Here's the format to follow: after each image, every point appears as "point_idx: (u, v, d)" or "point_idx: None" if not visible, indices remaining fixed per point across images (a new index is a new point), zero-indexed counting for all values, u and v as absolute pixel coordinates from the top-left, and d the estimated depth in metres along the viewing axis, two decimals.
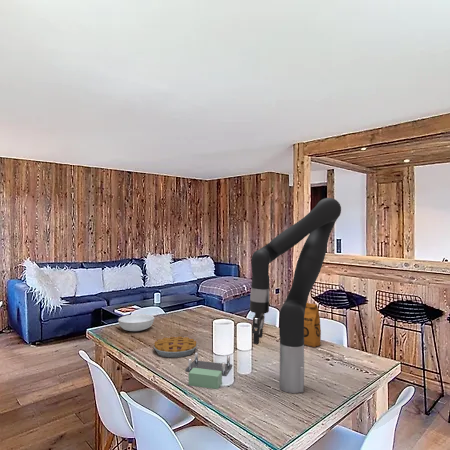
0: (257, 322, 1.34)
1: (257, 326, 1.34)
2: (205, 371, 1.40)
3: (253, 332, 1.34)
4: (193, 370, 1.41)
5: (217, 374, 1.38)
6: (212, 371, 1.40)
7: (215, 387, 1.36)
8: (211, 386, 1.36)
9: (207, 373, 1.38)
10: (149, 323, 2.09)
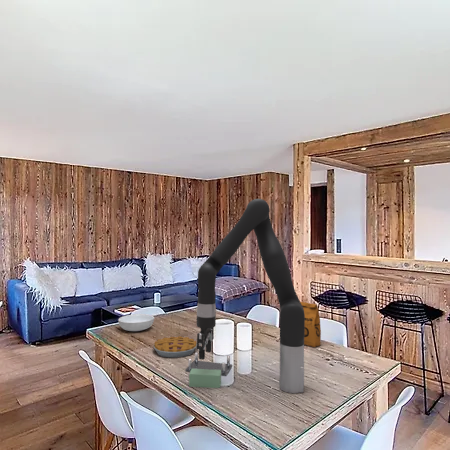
0: (201, 338, 1.33)
1: (201, 342, 1.33)
2: (205, 371, 1.40)
3: (197, 348, 1.34)
4: (192, 371, 1.40)
5: (218, 373, 1.39)
6: (212, 371, 1.41)
7: (217, 386, 1.37)
8: (212, 385, 1.37)
9: (208, 373, 1.38)
10: (149, 323, 2.09)
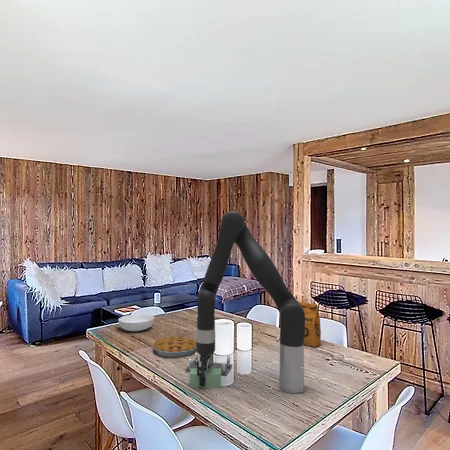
0: (201, 366, 1.33)
1: (201, 370, 1.34)
2: None
3: (198, 375, 1.34)
4: (192, 371, 1.40)
5: (218, 372, 1.39)
6: (212, 370, 1.41)
7: (218, 385, 1.37)
8: (213, 384, 1.37)
9: (208, 372, 1.39)
10: (149, 323, 2.09)
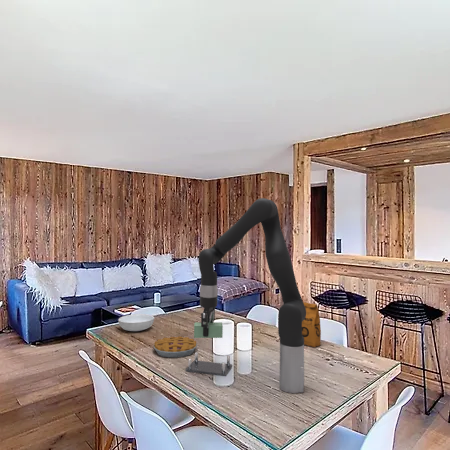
0: (205, 317, 1.46)
1: (205, 320, 1.46)
2: None
3: (202, 326, 1.47)
4: (196, 324, 1.52)
5: (220, 324, 1.52)
6: (214, 323, 1.54)
7: (220, 336, 1.50)
8: (216, 335, 1.50)
9: (211, 325, 1.51)
10: (149, 323, 2.09)
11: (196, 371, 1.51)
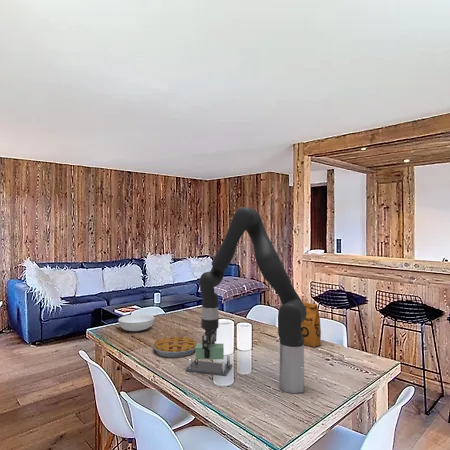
0: (206, 339, 1.49)
1: (206, 343, 1.49)
2: None
3: (203, 348, 1.49)
4: (198, 345, 1.55)
5: (221, 346, 1.55)
6: (215, 344, 1.57)
7: (221, 357, 1.53)
8: (217, 357, 1.53)
9: (212, 346, 1.54)
10: (149, 323, 2.09)
11: (196, 371, 1.51)
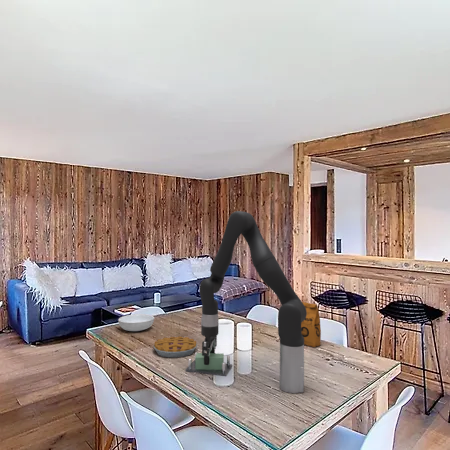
0: (206, 345, 1.49)
1: (206, 349, 1.48)
2: (209, 355, 1.56)
3: (203, 354, 1.49)
4: (198, 355, 1.55)
5: (221, 356, 1.54)
6: (215, 354, 1.56)
7: (221, 367, 1.52)
8: (216, 367, 1.52)
9: (212, 356, 1.54)
10: (149, 323, 2.09)
11: (196, 371, 1.51)
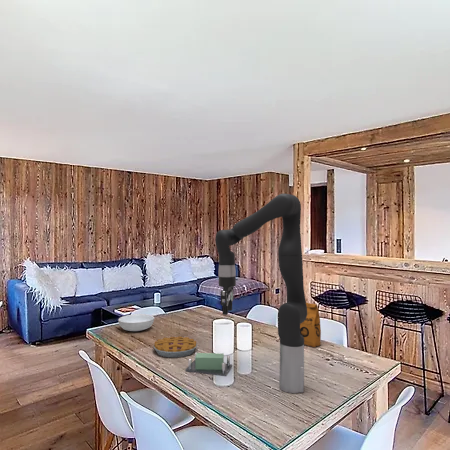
0: (224, 294, 1.49)
1: (225, 298, 1.49)
2: (209, 355, 1.56)
3: (221, 303, 1.49)
4: (198, 355, 1.55)
5: (221, 356, 1.54)
6: (215, 354, 1.56)
7: (221, 367, 1.52)
8: (216, 367, 1.52)
9: (212, 356, 1.54)
10: (149, 323, 2.09)
11: (196, 371, 1.51)
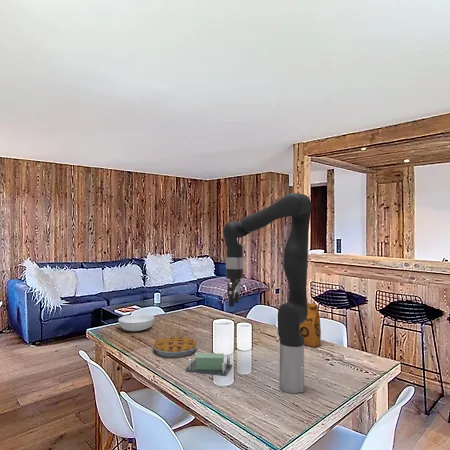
0: (231, 286, 1.49)
1: (231, 290, 1.49)
2: (209, 355, 1.56)
3: (228, 295, 1.49)
4: (198, 355, 1.55)
5: (221, 356, 1.54)
6: (215, 354, 1.56)
7: (221, 367, 1.52)
8: (216, 367, 1.52)
9: (212, 356, 1.54)
10: (149, 323, 2.09)
11: (196, 371, 1.51)
